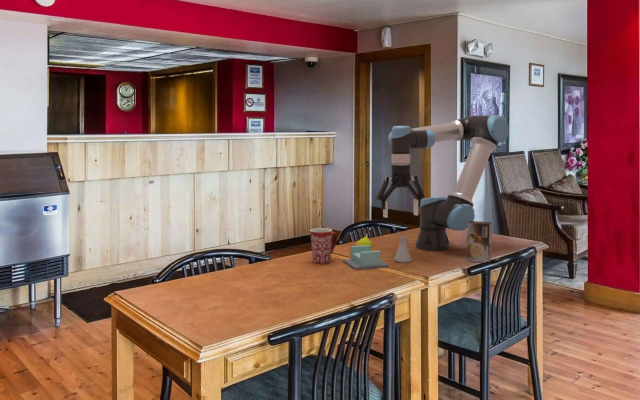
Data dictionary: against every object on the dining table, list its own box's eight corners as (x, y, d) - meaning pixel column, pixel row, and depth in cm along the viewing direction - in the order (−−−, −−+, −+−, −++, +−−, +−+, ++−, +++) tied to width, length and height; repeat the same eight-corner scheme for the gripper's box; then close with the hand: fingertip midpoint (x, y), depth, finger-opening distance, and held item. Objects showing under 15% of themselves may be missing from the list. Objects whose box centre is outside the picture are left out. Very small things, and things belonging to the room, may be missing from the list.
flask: (390, 260, 233) (391, 236, 232) (405, 258, 236) (406, 235, 235) (400, 263, 227) (400, 239, 225) (415, 262, 229) (415, 238, 228)
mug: (319, 266, 224) (319, 232, 222) (306, 261, 231) (305, 229, 229) (343, 261, 231) (343, 229, 230) (330, 257, 239) (330, 226, 237)
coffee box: (491, 260, 232) (492, 221, 230) (489, 263, 226) (490, 224, 224) (469, 258, 236) (470, 220, 234) (466, 261, 230) (467, 222, 228)
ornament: (373, 253, 246) (373, 230, 245) (371, 256, 239) (371, 233, 238) (356, 252, 248) (357, 230, 246) (355, 256, 241) (355, 233, 239)
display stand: (375, 259, 234) (375, 244, 233) (388, 267, 221) (388, 251, 220) (343, 261, 230) (343, 246, 229) (354, 270, 217) (354, 253, 216)
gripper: (424, 162, 233) (423, 212, 236) (368, 164, 226) (368, 216, 229) (433, 163, 226) (432, 215, 229) (375, 166, 219) (375, 219, 222)
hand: (400, 216), depth 229 cm, fingers open, 13 cm apart
